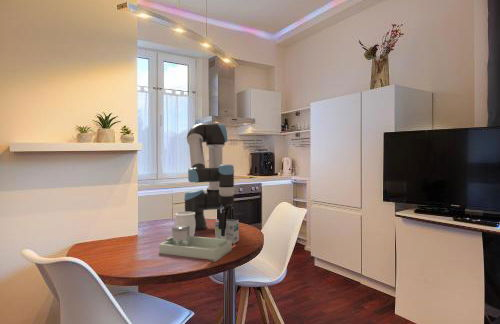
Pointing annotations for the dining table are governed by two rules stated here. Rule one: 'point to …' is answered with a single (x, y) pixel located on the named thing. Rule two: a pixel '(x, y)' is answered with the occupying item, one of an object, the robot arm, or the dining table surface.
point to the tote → (198, 248)
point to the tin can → (181, 236)
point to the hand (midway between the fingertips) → (227, 240)
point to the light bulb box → (228, 230)
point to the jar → (186, 220)
